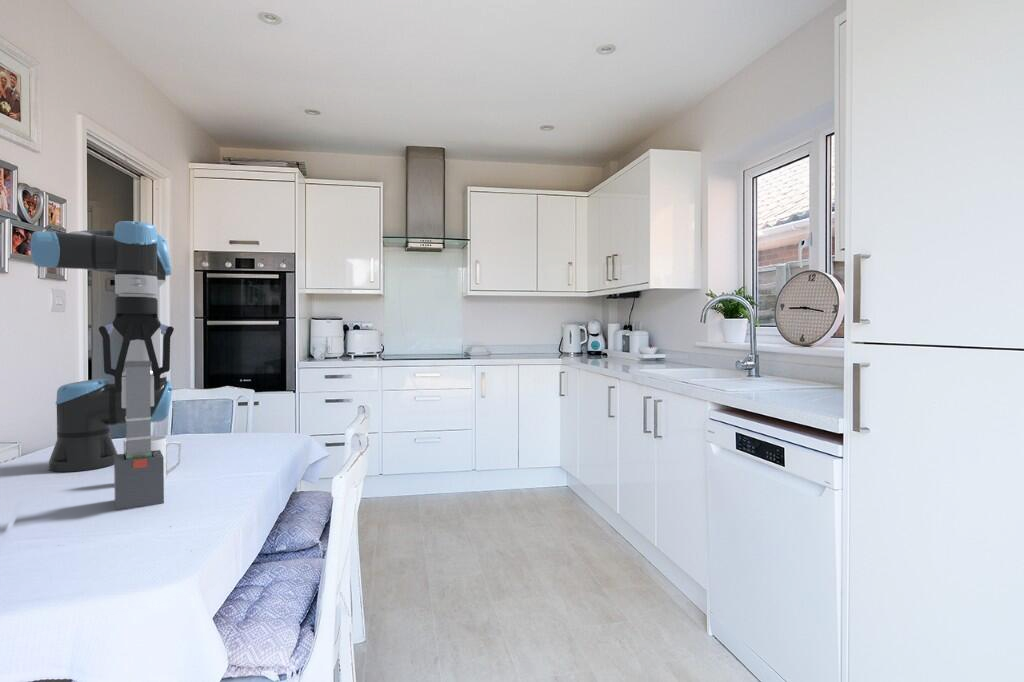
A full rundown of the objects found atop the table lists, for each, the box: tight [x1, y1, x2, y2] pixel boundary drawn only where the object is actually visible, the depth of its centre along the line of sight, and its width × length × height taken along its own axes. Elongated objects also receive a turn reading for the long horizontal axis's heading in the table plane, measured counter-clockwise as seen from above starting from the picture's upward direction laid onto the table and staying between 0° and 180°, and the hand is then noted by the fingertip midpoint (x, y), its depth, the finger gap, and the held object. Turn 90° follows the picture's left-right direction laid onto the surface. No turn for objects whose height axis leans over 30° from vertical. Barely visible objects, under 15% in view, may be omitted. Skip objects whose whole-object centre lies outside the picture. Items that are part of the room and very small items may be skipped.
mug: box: [123, 434, 182, 480], centre depth 141 cm, size 12×9×11 cm
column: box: [124, 360, 152, 460], centre depth 122 cm, size 5×5×22 cm
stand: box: [113, 450, 165, 512], centre depth 122 cm, size 12×16×11 cm
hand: (137, 406), depth 122 cm, fingers closed on column, 4 cm apart
